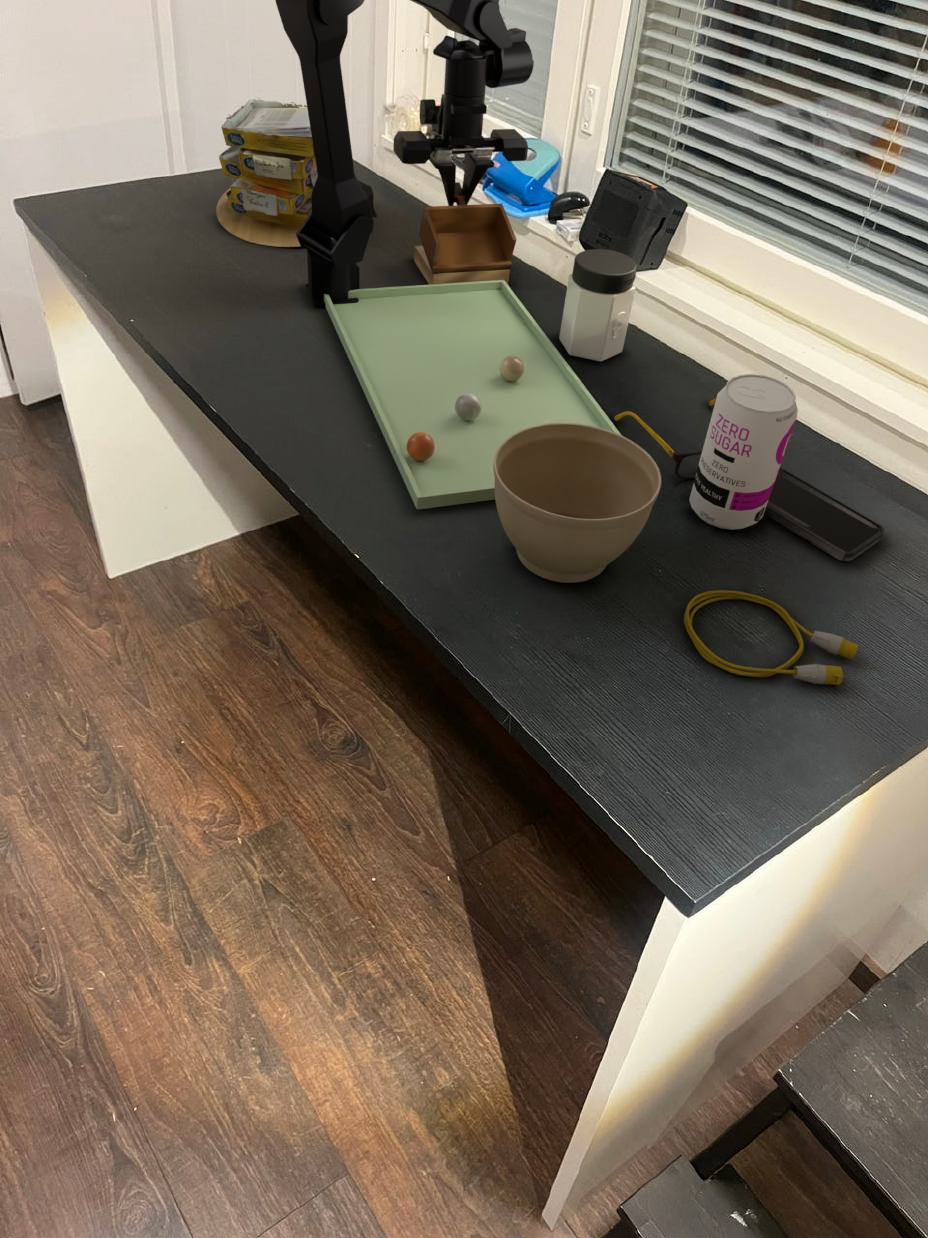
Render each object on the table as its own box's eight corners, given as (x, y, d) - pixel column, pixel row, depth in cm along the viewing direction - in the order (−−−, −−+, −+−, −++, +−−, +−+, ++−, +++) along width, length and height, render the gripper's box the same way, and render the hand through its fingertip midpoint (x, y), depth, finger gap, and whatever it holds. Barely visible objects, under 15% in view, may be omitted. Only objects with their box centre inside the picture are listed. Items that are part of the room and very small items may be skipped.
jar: (591, 368, 127) (608, 281, 119) (547, 343, 131) (559, 258, 123) (633, 348, 132) (651, 264, 124) (589, 325, 136) (604, 242, 128)
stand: (432, 289, 140) (433, 273, 139) (414, 260, 147) (414, 245, 146) (508, 284, 144) (509, 269, 142) (487, 256, 150) (488, 241, 149)
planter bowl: (598, 497, 106) (617, 413, 99) (665, 593, 95) (691, 506, 88) (462, 517, 102) (471, 430, 94) (516, 619, 91) (530, 530, 83)
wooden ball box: (432, 274, 139) (437, 246, 134) (410, 211, 144) (415, 183, 140) (510, 269, 142) (517, 242, 138) (486, 208, 148) (493, 180, 143)
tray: (416, 509, 102) (417, 497, 101) (323, 301, 135) (322, 291, 134) (644, 480, 109) (647, 468, 108) (502, 289, 142) (503, 279, 141)
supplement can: (765, 496, 108) (804, 380, 98) (757, 540, 103) (798, 422, 92) (694, 480, 110) (725, 364, 99) (682, 522, 104) (714, 404, 94)
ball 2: (487, 409, 116) (479, 426, 114) (462, 409, 117) (454, 425, 115) (482, 387, 113) (473, 404, 111) (457, 387, 114) (448, 403, 113)
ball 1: (406, 450, 109) (420, 470, 108) (397, 439, 106) (412, 460, 105) (428, 433, 109) (443, 453, 108) (420, 422, 106) (435, 442, 105)
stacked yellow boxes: (308, 262, 144) (304, 145, 132) (184, 218, 152) (170, 104, 140) (399, 215, 160) (402, 107, 148) (282, 177, 168) (277, 72, 156)
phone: (775, 464, 112) (888, 529, 104) (773, 472, 112) (884, 537, 105) (735, 487, 108) (849, 556, 100) (732, 495, 108) (845, 565, 101)
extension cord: (794, 726, 84) (802, 712, 82) (657, 626, 92) (662, 611, 90) (866, 665, 90) (874, 650, 89) (733, 576, 98) (738, 562, 97)
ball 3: (498, 385, 123) (505, 378, 120) (494, 360, 123) (501, 353, 120) (521, 383, 124) (529, 375, 120) (517, 358, 124) (525, 351, 120)
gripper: (508, 75, 140) (498, 185, 150) (384, 75, 135) (383, 189, 145) (535, 97, 132) (522, 212, 143) (405, 99, 127) (401, 217, 138)
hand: (457, 207), depth 142 cm, fingers closed on wooden ball box, 2 cm apart
